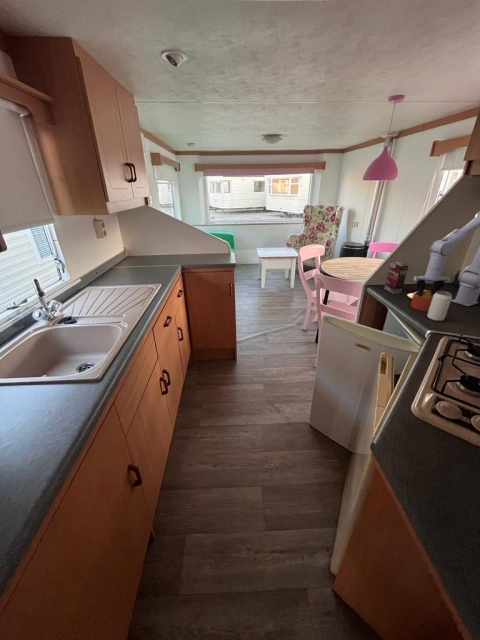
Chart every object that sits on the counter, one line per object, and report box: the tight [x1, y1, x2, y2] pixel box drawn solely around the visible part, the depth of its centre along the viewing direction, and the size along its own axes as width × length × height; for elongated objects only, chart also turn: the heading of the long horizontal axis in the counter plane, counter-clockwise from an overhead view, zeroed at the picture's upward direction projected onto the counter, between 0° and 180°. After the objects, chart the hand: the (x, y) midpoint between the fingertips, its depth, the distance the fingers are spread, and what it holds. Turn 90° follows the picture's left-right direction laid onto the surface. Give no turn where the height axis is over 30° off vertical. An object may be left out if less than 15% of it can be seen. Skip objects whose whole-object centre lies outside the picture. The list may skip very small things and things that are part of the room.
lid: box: [407, 289, 425, 300], centre depth 139 cm, size 11×11×5 cm
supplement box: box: [383, 261, 409, 295], centre depth 147 cm, size 9×5×16 cm, turn 10°
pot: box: [410, 291, 433, 313], centre depth 129 cm, size 10×10×6 cm
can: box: [426, 290, 453, 322], centre depth 116 cm, size 6×6×12 cm
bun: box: [420, 289, 433, 299], centre depth 127 cm, size 5×5×4 cm
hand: (426, 295), depth 127 cm, fingers closed on bun, 5 cm apart
